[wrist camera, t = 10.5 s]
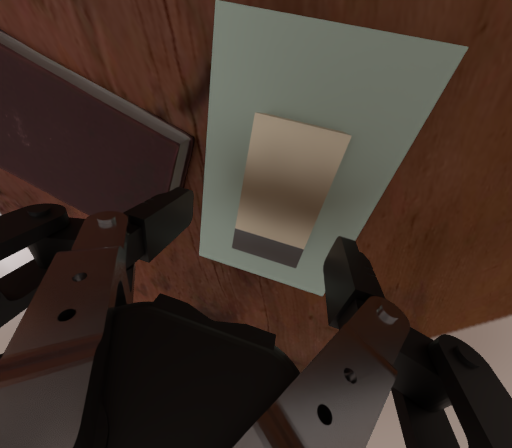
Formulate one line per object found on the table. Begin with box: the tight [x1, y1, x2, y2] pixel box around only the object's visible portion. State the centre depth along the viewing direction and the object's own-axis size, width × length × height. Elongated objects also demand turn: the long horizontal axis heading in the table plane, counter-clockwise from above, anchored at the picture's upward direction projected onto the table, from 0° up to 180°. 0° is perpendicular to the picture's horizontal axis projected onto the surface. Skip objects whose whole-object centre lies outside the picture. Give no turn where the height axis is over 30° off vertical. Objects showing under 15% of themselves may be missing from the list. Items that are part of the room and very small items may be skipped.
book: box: [0, 30, 194, 215], centre depth 18 cm, size 12×19×3 cm, turn 64°
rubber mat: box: [199, 0, 469, 296], centre depth 16 cm, size 14×20×1 cm
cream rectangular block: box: [232, 112, 352, 268], centre depth 15 cm, size 10×6×3 cm, turn 168°
